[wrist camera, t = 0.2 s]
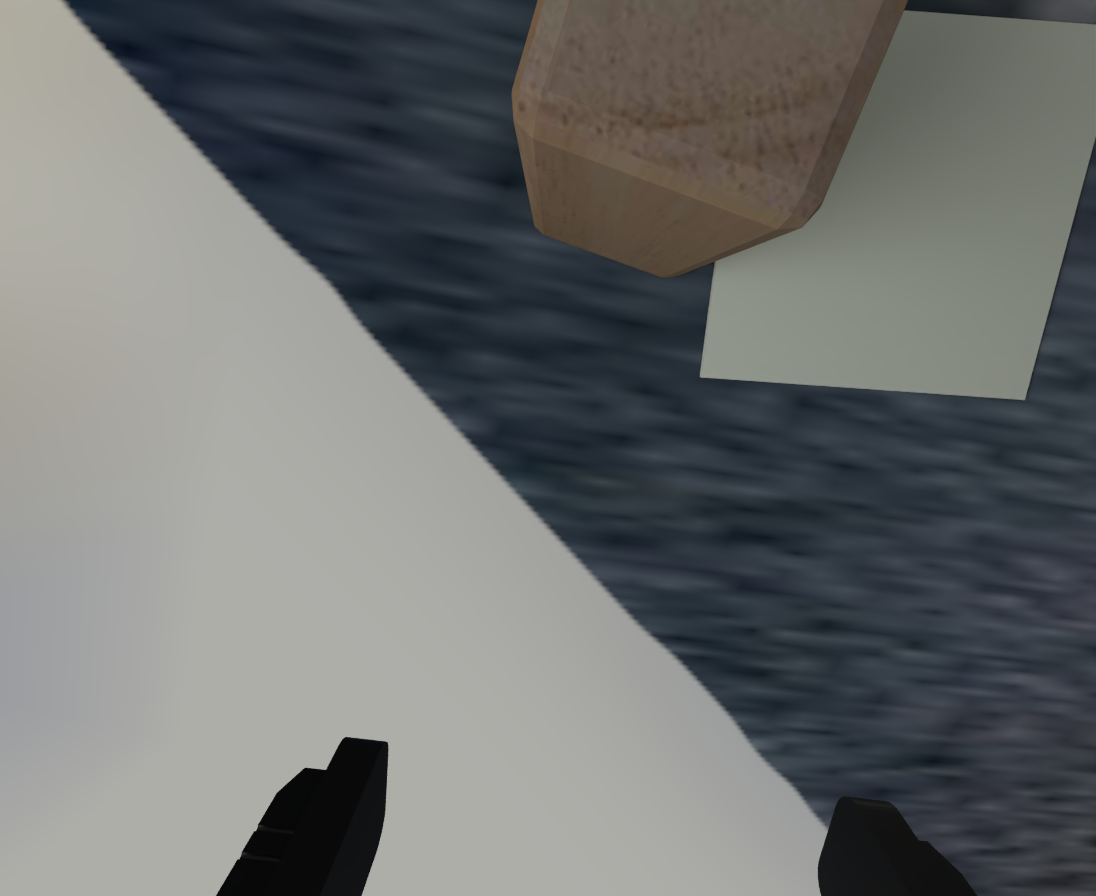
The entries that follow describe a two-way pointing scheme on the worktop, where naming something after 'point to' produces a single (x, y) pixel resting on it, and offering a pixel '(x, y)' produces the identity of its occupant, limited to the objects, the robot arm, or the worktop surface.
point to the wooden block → (690, 119)
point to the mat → (927, 222)
